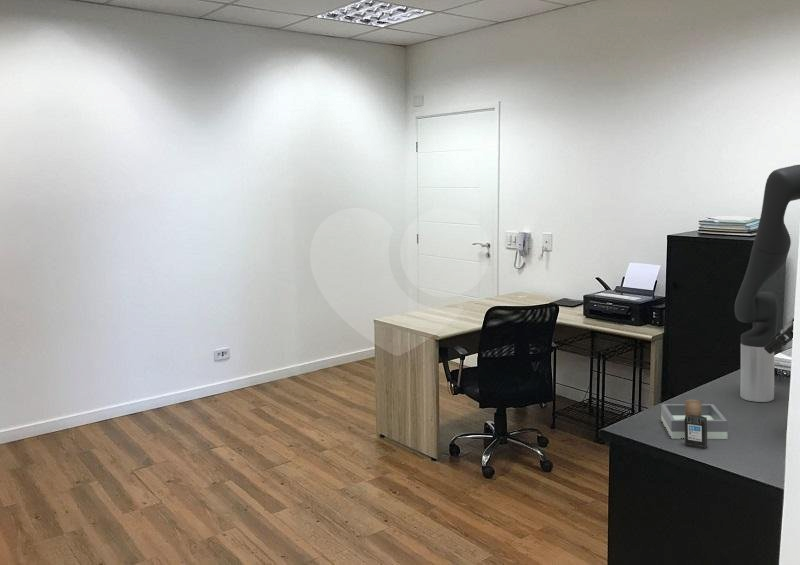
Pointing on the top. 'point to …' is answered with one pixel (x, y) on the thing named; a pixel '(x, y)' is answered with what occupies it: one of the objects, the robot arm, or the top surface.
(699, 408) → the peg
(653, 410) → the top surface
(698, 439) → the ink cartridge
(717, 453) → the top surface
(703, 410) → the socket box
